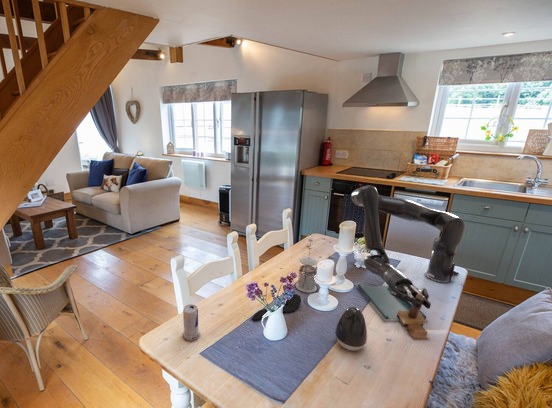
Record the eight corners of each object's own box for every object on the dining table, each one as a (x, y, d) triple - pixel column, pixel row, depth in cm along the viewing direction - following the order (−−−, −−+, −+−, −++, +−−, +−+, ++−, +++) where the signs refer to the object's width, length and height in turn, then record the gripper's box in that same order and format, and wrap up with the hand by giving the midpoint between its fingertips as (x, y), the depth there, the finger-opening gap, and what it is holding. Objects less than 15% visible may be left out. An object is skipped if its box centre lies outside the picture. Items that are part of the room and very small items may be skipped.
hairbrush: (247, 308, 126) (292, 288, 137) (247, 316, 127) (291, 295, 138) (259, 320, 119) (306, 298, 130) (259, 327, 120) (305, 305, 132)
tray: (357, 288, 145) (358, 283, 144) (391, 288, 145) (392, 283, 144) (384, 321, 122) (385, 316, 121) (425, 321, 122) (426, 316, 121)
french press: (318, 284, 148) (323, 236, 141) (314, 296, 138) (319, 246, 131) (298, 279, 153) (302, 232, 146) (292, 291, 143) (296, 241, 136)
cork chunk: (406, 330, 117) (407, 323, 116) (418, 330, 117) (419, 323, 116) (413, 338, 113) (415, 331, 112) (426, 338, 113) (427, 331, 112)
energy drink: (200, 332, 116) (200, 305, 113) (195, 342, 111) (194, 314, 108) (187, 329, 118) (186, 302, 114) (181, 339, 113) (180, 311, 110)
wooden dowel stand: (395, 316, 121) (406, 292, 114) (416, 316, 121) (427, 291, 114) (402, 326, 117) (413, 302, 110) (423, 326, 117) (436, 302, 110)
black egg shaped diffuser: (328, 343, 111) (332, 307, 106) (343, 331, 117) (348, 296, 112) (355, 360, 103) (361, 322, 99) (370, 346, 109) (376, 310, 105)
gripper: (381, 273, 126) (406, 297, 109) (415, 272, 126) (446, 297, 109) (378, 289, 128) (403, 315, 111) (412, 288, 128) (441, 315, 111)
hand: (424, 306), depth 110 cm, fingers closed on wooden dowel stand, 3 cm apart
